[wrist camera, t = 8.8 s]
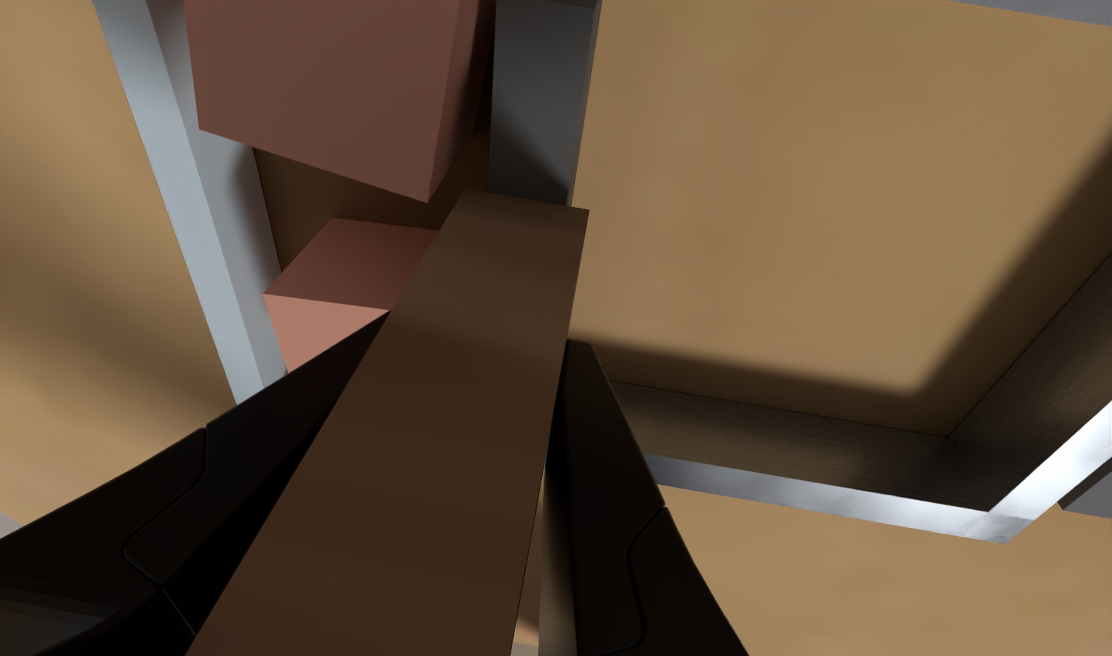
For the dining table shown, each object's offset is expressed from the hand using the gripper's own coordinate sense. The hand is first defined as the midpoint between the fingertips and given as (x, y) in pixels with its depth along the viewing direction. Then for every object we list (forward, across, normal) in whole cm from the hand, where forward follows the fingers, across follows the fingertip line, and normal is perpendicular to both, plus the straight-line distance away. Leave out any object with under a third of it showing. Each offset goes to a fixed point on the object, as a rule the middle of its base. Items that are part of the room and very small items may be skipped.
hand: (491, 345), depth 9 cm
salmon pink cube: (+5, +3, +3) cm, 7 cm away
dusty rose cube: (+5, +3, -4) cm, 7 cm away
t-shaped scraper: (+5, 0, 0) cm, 5 cm away
